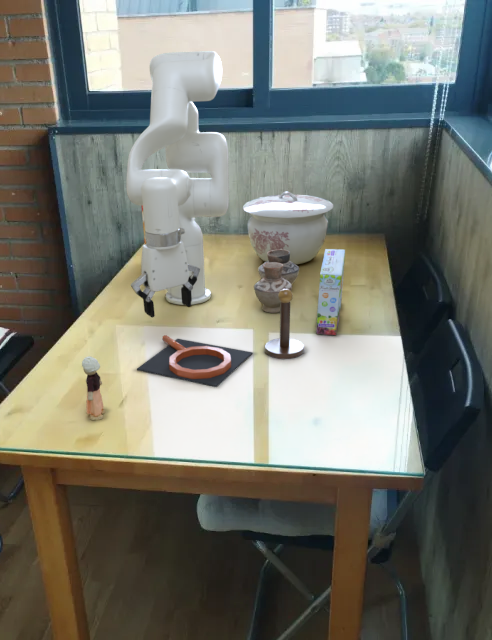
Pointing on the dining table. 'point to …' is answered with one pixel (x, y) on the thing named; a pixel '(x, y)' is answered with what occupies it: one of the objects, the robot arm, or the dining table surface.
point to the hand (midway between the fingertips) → (168, 310)
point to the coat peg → (284, 332)
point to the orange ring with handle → (197, 350)
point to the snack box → (330, 291)
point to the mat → (194, 362)
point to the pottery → (275, 279)
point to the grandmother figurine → (93, 389)
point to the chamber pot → (288, 225)
